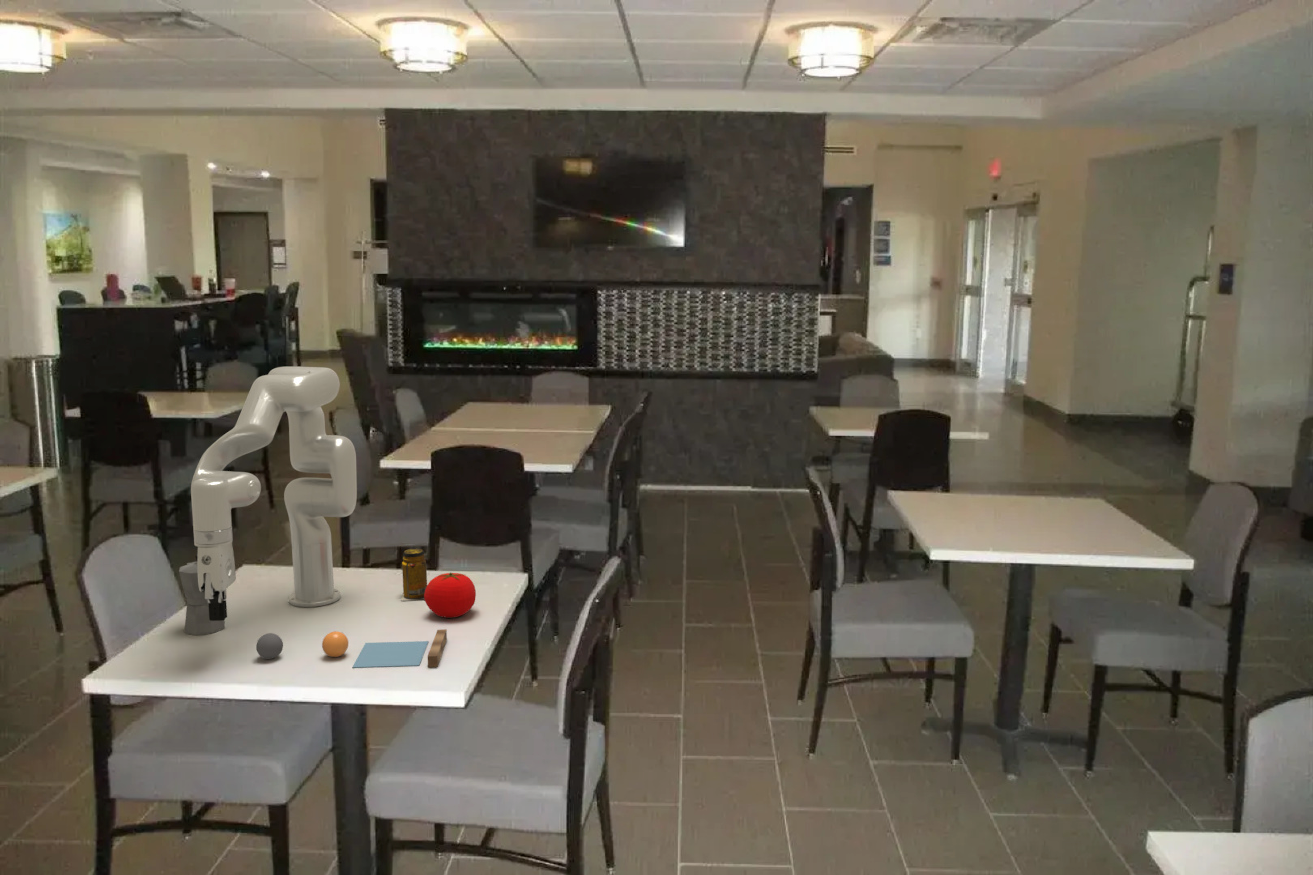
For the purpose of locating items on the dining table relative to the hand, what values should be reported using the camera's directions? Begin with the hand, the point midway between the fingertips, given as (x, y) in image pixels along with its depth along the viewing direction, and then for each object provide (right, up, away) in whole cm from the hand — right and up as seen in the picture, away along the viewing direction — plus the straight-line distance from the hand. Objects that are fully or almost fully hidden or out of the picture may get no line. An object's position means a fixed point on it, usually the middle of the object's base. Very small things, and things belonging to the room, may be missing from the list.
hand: (218, 619), depth 223 cm
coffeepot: (-11, -6, +20) cm, 24 cm away
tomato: (+44, -4, +30) cm, 54 cm away
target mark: (+36, -9, +5) cm, 37 cm away
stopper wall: (+46, -8, +6) cm, 47 cm away
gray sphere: (+10, -6, +2) cm, 12 cm away
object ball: (+24, -6, +4) cm, 25 cm away
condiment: (+33, -2, +44) cm, 55 cm away
